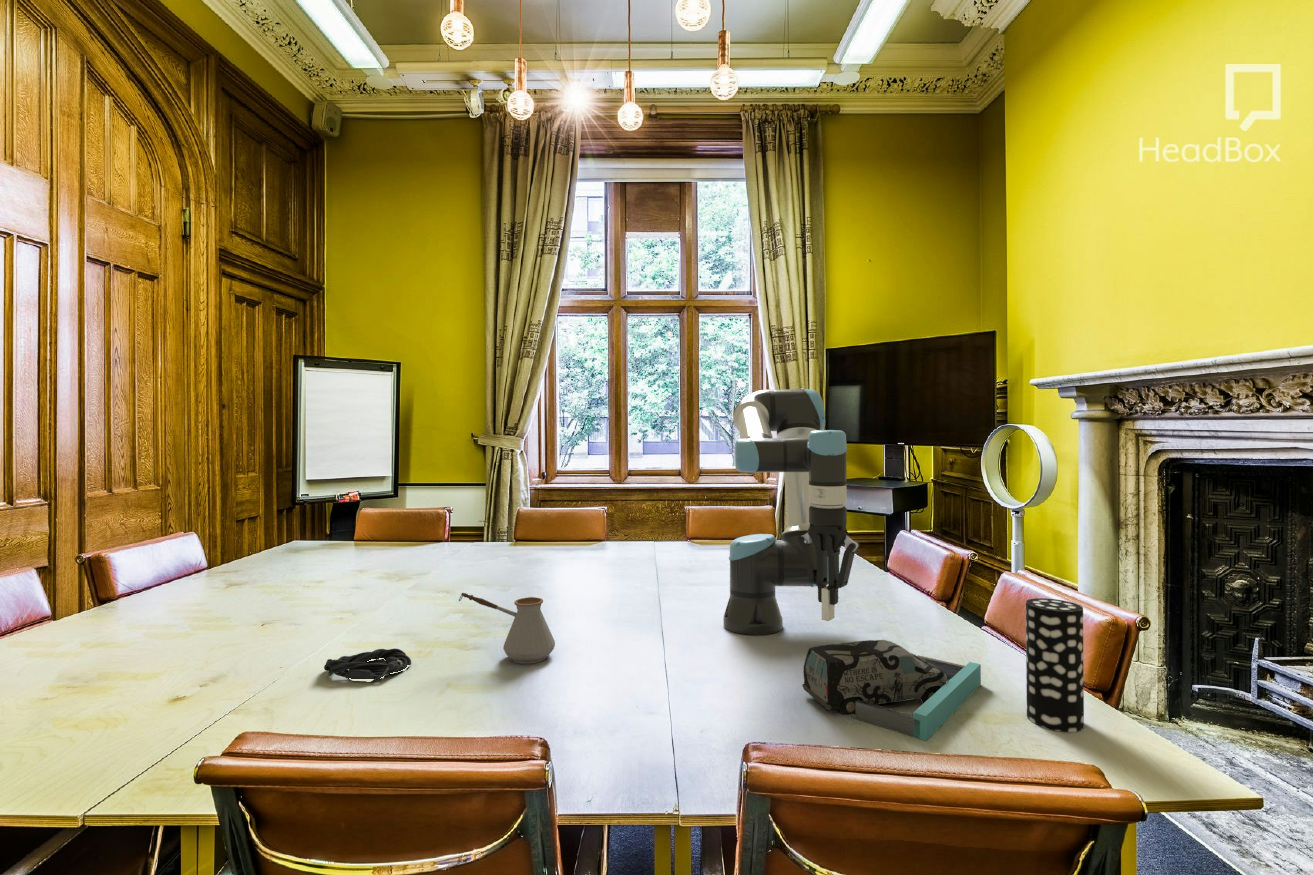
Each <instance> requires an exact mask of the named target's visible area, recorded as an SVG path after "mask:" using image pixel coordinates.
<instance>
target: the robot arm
mask: <svg viewBox="0 0 1313 875" xmlns="http://www.w3.org/2000/svg"><path fill="white" fill-rule="evenodd" d="M825 416H826V412H825V406H824V401H823V399H822V396H821V394H820V393H819V392H818V391H817V390H816V389H809V388H808V389H807V388H794V389H792V388H791V389H761V390H756V391H754V392H752V393H749V394H748V395H746V396H744V397H743V398H742V399H740V400H739V401H738V403H737V404H736V405H735V407H734V409H733V413H732V420H733V424H734V426H735V428H736V429H737V430H738V432H739V437H740V438H739V439H736V441H735V443H734V462H735V463H734V465H735V469H736V471H737V472H740V473H750V474H757V473H758V474H759V473H761V474H762V473H784V487H785V488H784V489H785V504H786V505H785V506H786V508H785V509H786V524H787V527H786V529H785V530H784V531H783V532H782V533H781V540H780V539H778V540H776V537H775V535H773V534H771V533H756V534H755V533H754V534H749V535H744V536H740V537H736V538H735V539H734V540H732V541H731V543H730V544H729V557H728V560H729V598H728V601H727V603H726V604H727V605H726V608H725V611H724V614H723V627H724V629H726V630H728V631H730V632H733V633H736V634H740V635H742V634H743V635H750V636H752V635H753V636H754V635H755V636H759V635H761V636H762V635H770V634H775V633H777V632H780V631H782V629H783V627H784V626H783V624H784V623H783V616H782V613H781V610H780V607H779V603H778V601H777V600H778V599H777V598H776V587H810V588H814V587H817V600H818V603H821V620H822V621H825V622H829V621H832V620H833V619H835V605H837V604H838V603H839V589H841V588H844V587H846V586H847V585H848V583H849V579H850V574H851V570H852V565H853V563H854V557H855V553H856V552H857V550H858V548H860V542H859V541H855V540H853V539H852V538H850V536H849V532H848V530H847V525H848V524H847V523H848V513H847V512H848V510H847V509H848V508H847V507H846V506H845V505H846V504H847V503H848V498H847V496H848V494H847V460H848V459H847V457H848V456H847V451H848V445H847V434H846V432H844V430H839V429H838V430H836V429H835V430H834V429H827V430H826V429H825V426H826V417H825ZM772 432H776V438H774V436H773V434H772ZM843 545H844V549H845V550H844V552H843V554H842V559H841V563H840V555H841V548H842V547H843Z"/></svg>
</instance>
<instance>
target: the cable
mask: <svg viewBox="0 0 1313 875" xmlns="http://www.w3.org/2000/svg"><path fill="white" fill-rule="evenodd" d="M379 658H384V659H385V660H386V661H387V662H386V661H385V662H386V663H379V662H378V663H377V662H375V663H373V662H367V661H369V660H371V659H378V660H379ZM407 665H412V660H411V657H409V656H408V655H407V654H406V652H404V650H402V649H399V648H389V649H385V648H378V649H374V650H373V651H364V652H360V653H356V654H353V655H342V656H340V657H339V658H338V659H331V658H328V659H326V662H325V664H324V666H323V669H324V671H328V675H329V674H331V675H335V676H338V677H342V678H346V679H347V678H348V679H349V678H351V679H380V678H381V677H383V676H384V675H385V676H386V674H390V673H393V672H398V671H401V670H403V669H405V668H406V667H407ZM348 679H347V680H348Z"/></svg>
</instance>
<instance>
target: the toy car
mask: <svg viewBox="0 0 1313 875" xmlns="http://www.w3.org/2000/svg"><path fill="white" fill-rule="evenodd" d="M947 679H948V678H947V676H946V674H945V673H943V672H942V671H941V670H940V669H938V668H937V667H935V666H934V665H932V664H930V663H929V662H927V661H925V660H924V659H922V658H920V657H918V655H916V654H914V653H911V652H909V651H908V649H905V648H904V647H903V646H901V645H899V644H897V643H894V642H893V641H890V640H886V639H876V640H875V639H874V640H872V639H869V640H858V641H857V640H856V641H847V642H840V643H831V644H824V645H816V646H811V647H808V650H807V653H806V655H805V659H804V663H803V680H804V683H802V684H801V686H802V688H803V690H804V691H805V692H806V693H807V694H809V695H810V696H811V697H812V698H813V700H816V701H817V703H819V704H820V705H821V706H822V707H824V708H825V709H826V710H827V711H829V710H832V709H838V710H839V712H840V713H841V715H843V716H845V715H846V716H847V715H856V707H855V702H856V701H857V700H861V701H864V702H867V703H871V704H874V705H880V704H889V703H897V702H902V701H910V700H918V699H919V700H920V703H922V704H924V703H925V702H926V701H927V700H928V699H929V698H930V697H931V696H932V695H934V694H935V693H936V692H937V691H938V690H939V689H940V688H941V687H942V686H944V685H945V684H946V683H947V681H948V680H947Z"/></svg>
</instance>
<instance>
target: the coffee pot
mask: <svg viewBox="0 0 1313 875" xmlns="http://www.w3.org/2000/svg"><path fill="white" fill-rule="evenodd" d="M460 594H461V595H460V597H459V598H458V602H461V601H462V599H463V598H467V599H468V600H469V601H474V602H475V603H477V604H479V605H482V606H484V607H488V608H491V609H494V610H498V611H500V612H502V613H505V614H507V615H509V616H512V617H514V618H513V621H512V624H511V627H510V628H509V631H508V634H507V636H506V639H505V641H504V644H503V648H502V650H503V651H504V653H505V654H506V656H507V657H508V658H509V659H510V660H512V661H513V662H514V663H517V664H522V665H527V664H536V663H540V662H543V661H544V660H546V659H547V657H548V656H549V655H550V654H551V653H552V652H553V651H554V649H555V646H556V642H555V641H556V640H555V639H554V636H553V635H552V632H551V630H550V627H549V625H548V623H547V621H546V618H545V617H544V614H543V612H542V609H541V607H542V604H543V603H544V600H543V598H541V597H534V596H529V597H524V598H519V599H516V600H514V605H515V606H516V610H517V611H513V610H510V609H507V608H504V607H502V606H499V605H497V604H495V603H493V602H491V601H488V600H486V599H484V598H481V597H477V596H474V595H473V594H471V595H470V594H468V593H466V592H461V593H460Z"/></svg>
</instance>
